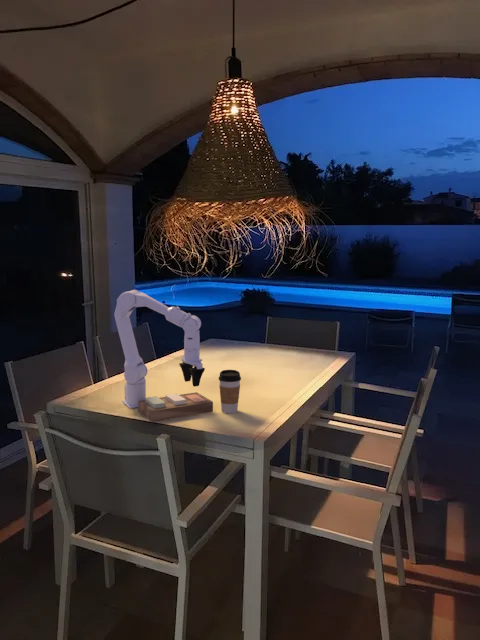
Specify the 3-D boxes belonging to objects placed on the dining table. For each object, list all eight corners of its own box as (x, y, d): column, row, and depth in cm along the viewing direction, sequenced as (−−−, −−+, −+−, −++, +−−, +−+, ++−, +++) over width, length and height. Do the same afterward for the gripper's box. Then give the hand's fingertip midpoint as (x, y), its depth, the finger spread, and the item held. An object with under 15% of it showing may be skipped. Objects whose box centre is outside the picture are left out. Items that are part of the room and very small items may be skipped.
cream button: (165, 405, 202) (165, 394, 201) (176, 403, 204) (176, 393, 203) (174, 411, 194) (174, 401, 193) (186, 410, 196) (186, 399, 196)
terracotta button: (185, 405, 206) (185, 395, 205) (195, 404, 208) (195, 394, 207) (194, 412, 198) (194, 401, 198) (205, 410, 200) (205, 400, 200)
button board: (138, 410, 199) (138, 400, 199) (196, 402, 211) (196, 392, 210) (151, 422, 187) (151, 411, 187) (212, 412, 199) (213, 401, 198)
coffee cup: (240, 407, 204) (241, 369, 202) (240, 414, 196) (241, 375, 194) (218, 407, 204) (218, 369, 202) (217, 414, 196) (218, 374, 194)
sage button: (145, 408, 198) (145, 397, 197) (156, 406, 200) (156, 396, 199) (154, 415, 190) (153, 404, 189) (165, 413, 192) (165, 402, 192)
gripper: (210, 351, 196) (209, 387, 198) (193, 344, 209) (193, 378, 211) (192, 352, 193) (192, 389, 195) (176, 345, 205) (176, 380, 207)
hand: (191, 383), depth 202 cm, fingers open, 7 cm apart
